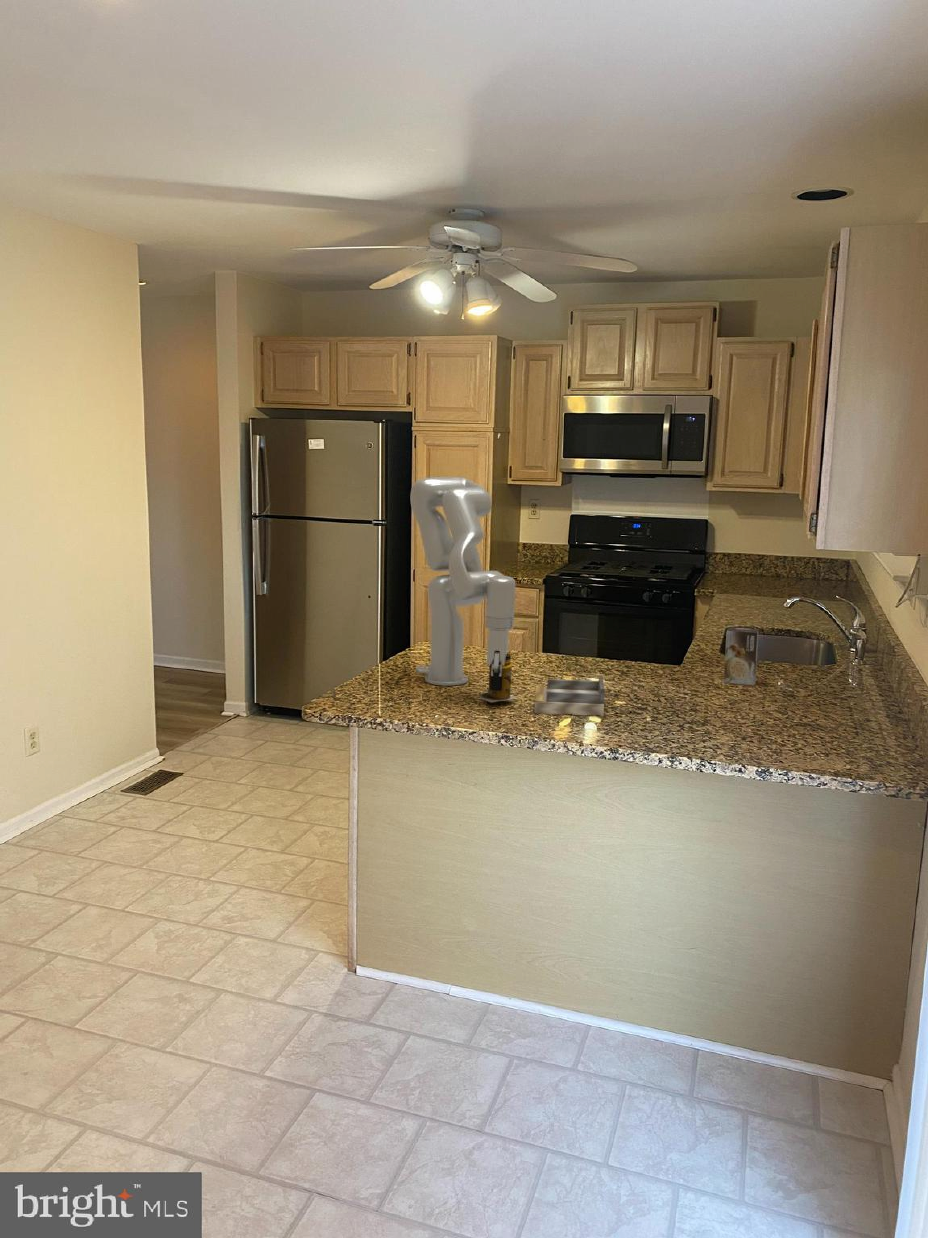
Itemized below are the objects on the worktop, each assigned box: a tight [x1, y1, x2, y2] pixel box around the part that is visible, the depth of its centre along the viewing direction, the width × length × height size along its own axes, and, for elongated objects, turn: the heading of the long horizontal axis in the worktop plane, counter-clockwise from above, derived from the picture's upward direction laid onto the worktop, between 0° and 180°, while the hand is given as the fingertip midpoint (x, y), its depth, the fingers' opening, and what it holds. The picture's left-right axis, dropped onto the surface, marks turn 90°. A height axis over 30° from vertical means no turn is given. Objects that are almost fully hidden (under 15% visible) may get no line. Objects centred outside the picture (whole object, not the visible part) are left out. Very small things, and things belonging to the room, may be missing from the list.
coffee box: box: [723, 626, 760, 686], centre depth 277 cm, size 9×6×16 cm
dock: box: [533, 675, 605, 717], centre depth 250 cm, size 18×16×7 cm
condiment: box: [476, 652, 517, 703], centre depth 252 cm, size 7×8×12 cm
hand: (496, 686), depth 253 cm, fingers closed on condiment, 6 cm apart
